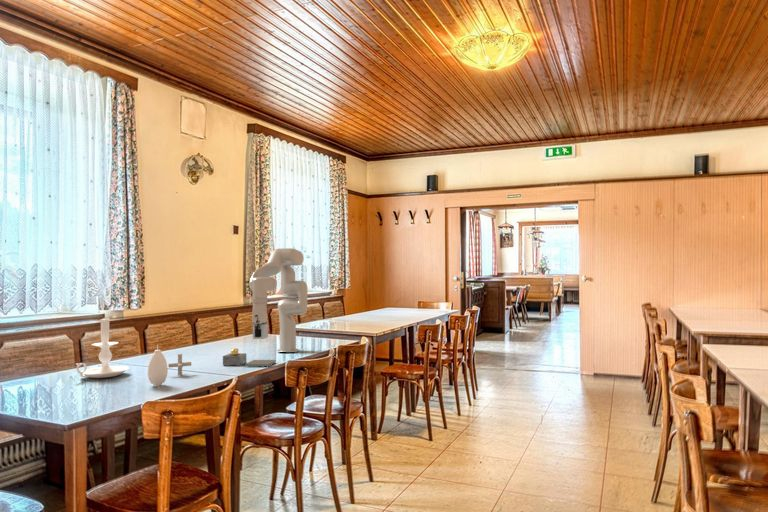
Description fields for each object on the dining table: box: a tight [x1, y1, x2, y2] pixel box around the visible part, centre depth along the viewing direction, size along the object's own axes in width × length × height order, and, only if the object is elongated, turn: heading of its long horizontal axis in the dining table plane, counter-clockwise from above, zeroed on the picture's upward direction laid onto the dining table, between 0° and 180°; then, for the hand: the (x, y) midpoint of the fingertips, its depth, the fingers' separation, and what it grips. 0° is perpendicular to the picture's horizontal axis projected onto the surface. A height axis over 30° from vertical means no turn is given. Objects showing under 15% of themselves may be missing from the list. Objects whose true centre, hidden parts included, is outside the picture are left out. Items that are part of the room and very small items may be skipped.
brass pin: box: [230, 348, 239, 355], centre depth 272 cm, size 4×4×5 cm
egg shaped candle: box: [147, 343, 169, 387], centre depth 223 cm, size 8×8×18 cm
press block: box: [222, 352, 247, 366], centre depth 272 cm, size 9×9×5 cm
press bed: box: [244, 359, 277, 367], centre depth 269 cm, size 12×12×2 cm
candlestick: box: [75, 317, 130, 379], centre depth 244 cm, size 21×25×28 cm
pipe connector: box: [167, 353, 192, 376], centre depth 245 cm, size 10×10×10 cm
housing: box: [252, 323, 269, 340], centre depth 270 cm, size 6×6×7 cm
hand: (260, 335), depth 270 cm, fingers closed on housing, 6 cm apart
